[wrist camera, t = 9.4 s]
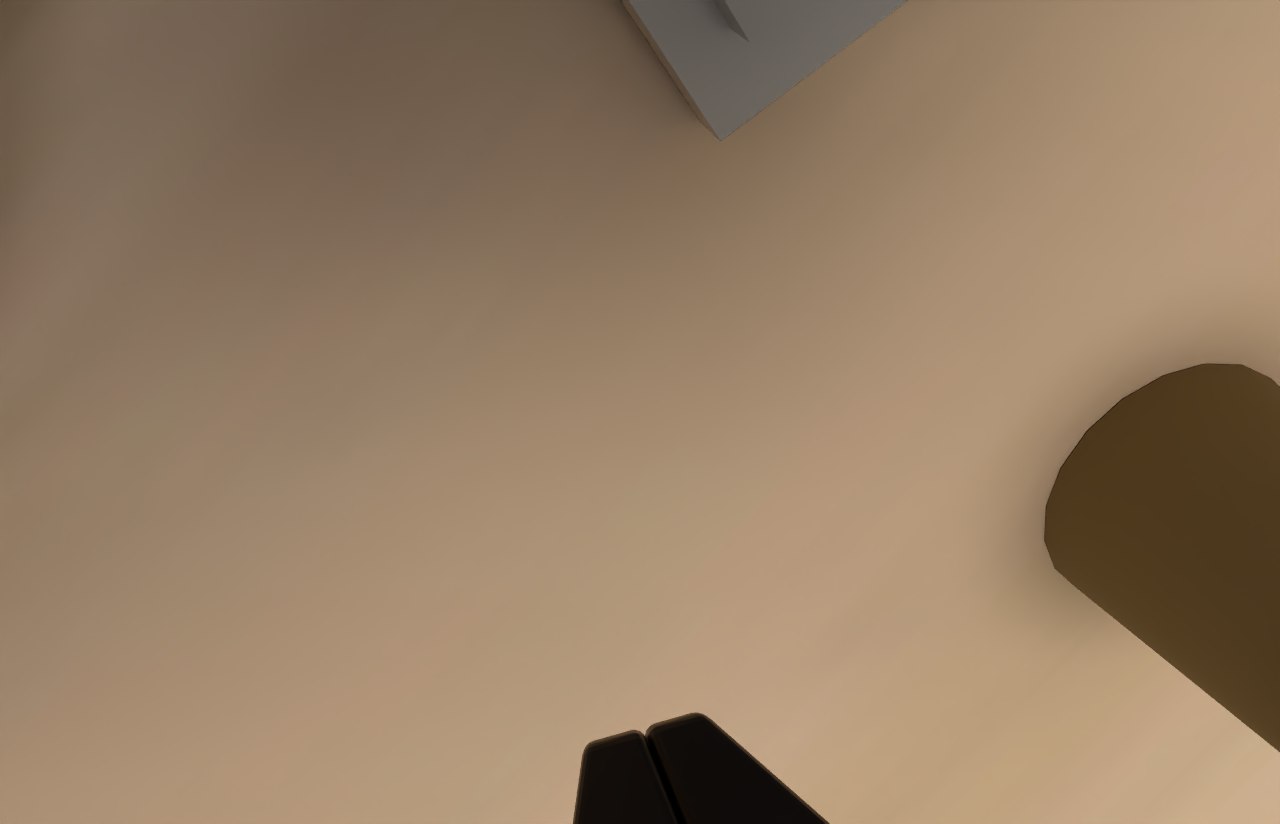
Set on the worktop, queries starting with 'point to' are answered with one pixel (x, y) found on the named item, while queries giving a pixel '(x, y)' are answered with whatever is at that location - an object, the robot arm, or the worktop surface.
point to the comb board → (748, 47)
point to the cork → (1185, 530)
